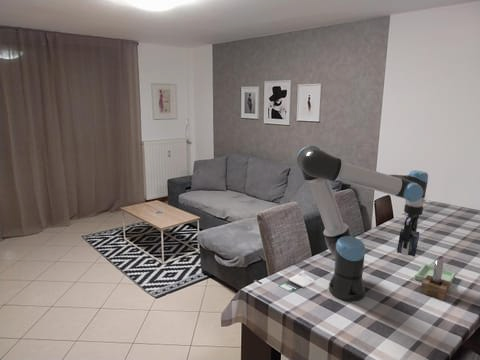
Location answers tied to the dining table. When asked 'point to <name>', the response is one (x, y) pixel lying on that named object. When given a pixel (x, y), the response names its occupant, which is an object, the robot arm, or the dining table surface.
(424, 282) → the tan square frame
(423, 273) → the tray
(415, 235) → the box
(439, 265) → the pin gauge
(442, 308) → the dining table surface
